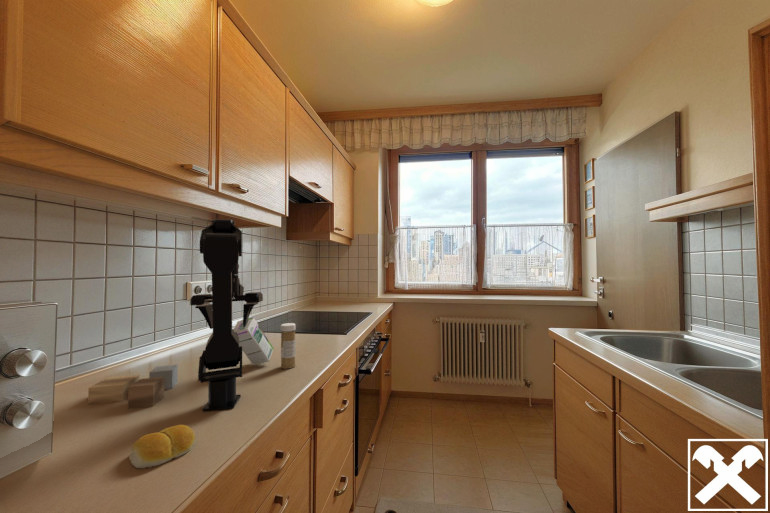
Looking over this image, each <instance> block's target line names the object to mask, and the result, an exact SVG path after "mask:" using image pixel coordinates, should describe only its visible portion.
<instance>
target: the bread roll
mask: <svg viewBox="0 0 770 513" xmlns="http://www.w3.org/2000/svg"><path fill="white" fill-rule="evenodd" d="M195 435H196V434H195V432H194V430H193V429H192V428H191V427H190V426H188V425H186V424H177V425H173V426H172V425H171V426H169V427H166V428H164V429H162V430H160V431H159V432H151V433H148V434H144V435H142V436H141V437H139V438H138V439H137V440H136V441H135V442H134V444H133V445H132V448H131V452H130V456H129V457H128V458H129V461H130V464H131V465H132V466H133V467H135V468H136V469H147V468H146V467H148V468H151V467H152V466H153V467H156V466H160V465H162V464H165V463H167V462H169V461H171V460H173V459H174V458H175V459H176V458H179V457H181V456H183V455H185V454H186V453H188V452H189V451H190V450H191V448H192V446H193V445H194V443H195V442H196V441H195V440H196V439H195V438H196V436H195Z"/></svg>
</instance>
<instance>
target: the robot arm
mask: <svg viewBox="0 0 770 513" xmlns="http://www.w3.org/2000/svg"><path fill="white" fill-rule="evenodd" d="M200 232H201V234H200V237H199V238H200V239H199V254H201V255H202V257H203V258H202V259H203V260H202V261H203V263H204V265H205V266H206V268H207V269H208V270H209V271H210V273H211V293H202V294H201V293H200V294H195V295H194V294H193V295H192V296H191V297H190V299H189V305H190V306H194V308H195V309H198V310H199V312H200V313H201V314H202V316H203V317H204V319H205V321H206V323H207V325H208V327H209V329H210V330H211V329H212V333H211V334H210V336H209V338H208V339H207V341H206V345H205V348H204V350H203V351H202V354H201V356H200V357H199V360H198V370H197V371H198V374H197V375H198V376H197V380H198V382H200V384H203V383H207V384H208V386H207V387H208V390H207V391H208V392H207V394H208V395H207V396H208V402H206V403H205V405H204V406H203V407H202V412H204V411H205V412H208V411H216V410H226V409H227V410H228V409H234V408H235V407H236V405H237V403H238V402H239V401H240V399H241V397H242V396H241V394H237V378H242V377H243V351H242V346H239V337H238V334H237V332H234V330H233V329H234V328H233V302H245V303H244V304H243V308H242V309H243V310H242V311H243V313H242V314H243V315H242V320H243V327H246V324H247V321H248V318H250V314H252V313H251V312H252V310H253V308H254V307H255V306H256V305H259V303H261V302H263V301H264V295H263V293H262V292H260V291H258V292H257V291H256V292H255V291H253V292H252V291H251V292H245V293H244V290H245V287H244V286H243V284H241V282H240V278H239V269H240V264H239V259H240V257H243V255H242V254H243V231H242V230H241V229H240V228H239V227H237V226H236V221H235V220H233V219H230V218H229V219H227V218H226V219H225V218H224V219H223V218H215V219H212V220H211V224H209V225H208V226H206V227H205V228H203V229H202V230H201V231H200ZM238 365H239V367H238ZM207 370H208V371H207Z"/></svg>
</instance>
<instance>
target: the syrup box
mask: <svg viewBox="0 0 770 513" xmlns="http://www.w3.org/2000/svg"><path fill="white" fill-rule="evenodd" d="M232 329H233V330H234V332H237V334H238V337H239V346H242V353H244V355H245V357H247V359H248V361H250V363H251V364H252V365H253V366H256V365H260V364H264V363H268V362H270V361H271V360H270V359H271V358H272V354H273V352H274V346H273V345H272V344H271V342H270V340H269V339H268V337H267V336H266V334H265V332H264V331H263V330H262V328H261V327H260V325H259V323H258V322H257V321H256V319H255V317H249V318H248V321H247V324H246V327H243V319H242V320H237V322H236V324H235V326H234V328H232Z"/></svg>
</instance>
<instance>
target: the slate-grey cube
mask: <svg viewBox="0 0 770 513" xmlns="http://www.w3.org/2000/svg"><path fill="white" fill-rule="evenodd" d="M178 366H179V365H178V364H177V363H176V364H168V365H159V366H155V367H154V368H152V370H150V371H149V376H148V378H158V377H164V389H167V390H172V389H174V387H175V386H176V385H177V383H178ZM175 384H176V385H175Z"/></svg>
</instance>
